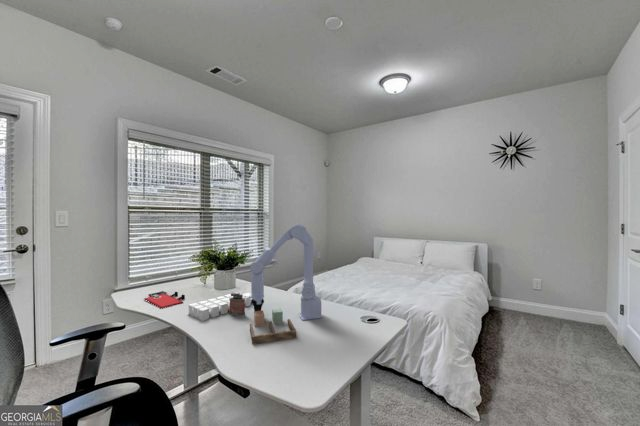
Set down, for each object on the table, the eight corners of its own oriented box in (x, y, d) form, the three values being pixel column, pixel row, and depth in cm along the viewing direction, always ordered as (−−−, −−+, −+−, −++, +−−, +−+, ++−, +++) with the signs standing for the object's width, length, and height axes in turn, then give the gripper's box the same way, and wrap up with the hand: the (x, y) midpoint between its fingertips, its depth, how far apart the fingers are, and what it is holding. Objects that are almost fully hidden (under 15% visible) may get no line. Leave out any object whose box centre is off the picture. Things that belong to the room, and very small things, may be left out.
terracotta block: (262, 320, 128) (262, 310, 128) (264, 325, 123) (264, 315, 123) (253, 321, 127) (253, 311, 127) (255, 326, 121) (255, 316, 121)
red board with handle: (166, 291, 174) (138, 298, 162) (166, 287, 173) (138, 293, 162) (190, 302, 155) (161, 310, 143) (190, 297, 155) (161, 304, 143)
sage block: (281, 319, 129) (280, 308, 129) (282, 322, 125) (282, 311, 125) (272, 320, 128) (272, 309, 128) (273, 323, 124) (273, 312, 124)
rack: (289, 324, 123) (289, 318, 123) (296, 338, 110) (296, 330, 110) (249, 330, 117) (249, 323, 117) (252, 344, 105) (252, 336, 105)
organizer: (188, 304, 136) (248, 289, 163) (188, 314, 136) (248, 297, 163) (202, 310, 128) (262, 293, 155) (202, 321, 128) (263, 301, 155)
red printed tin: (246, 313, 136) (246, 293, 136) (242, 316, 133) (242, 295, 133) (231, 311, 139) (231, 291, 138) (227, 314, 135) (227, 293, 135)
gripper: (247, 283, 137) (247, 310, 137) (249, 291, 123) (249, 321, 123) (262, 281, 139) (262, 309, 139) (266, 289, 126) (266, 319, 126)
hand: (257, 315), depth 132 cm, fingers closed
